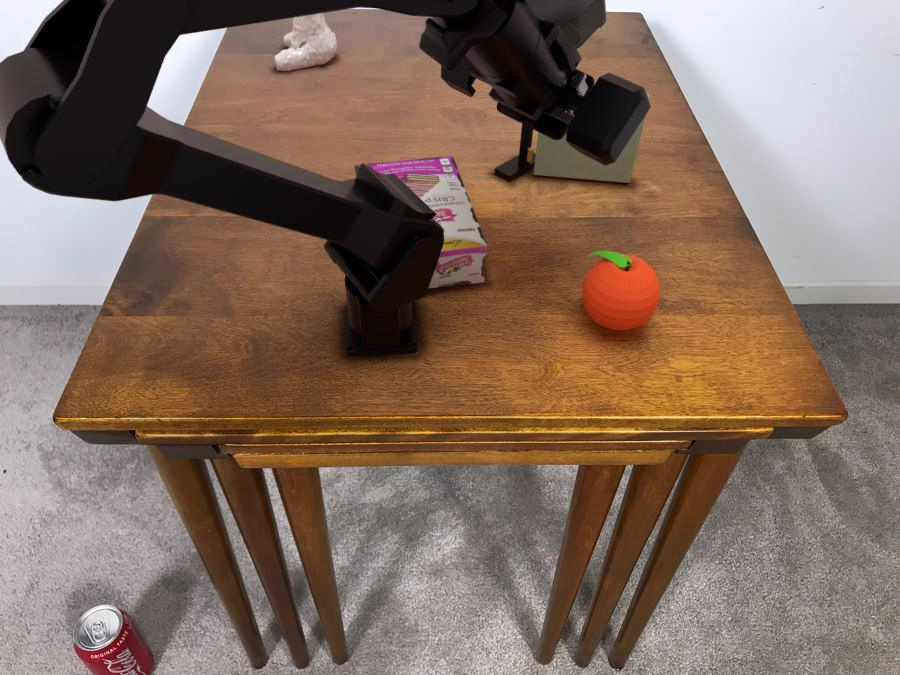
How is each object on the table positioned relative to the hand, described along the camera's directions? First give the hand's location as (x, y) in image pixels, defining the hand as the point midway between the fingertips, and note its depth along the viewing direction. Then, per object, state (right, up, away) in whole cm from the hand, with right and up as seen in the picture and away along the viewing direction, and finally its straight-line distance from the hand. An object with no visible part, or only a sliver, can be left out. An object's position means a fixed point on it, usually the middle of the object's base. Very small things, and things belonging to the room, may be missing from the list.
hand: (569, 128), depth 67 cm
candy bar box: (-17, -2, +12) cm, 20 cm away
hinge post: (-3, 0, +18) cm, 18 cm away
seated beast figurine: (-32, +21, +37) cm, 53 cm away
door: (+4, -1, +16) cm, 17 cm away
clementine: (+4, -18, 0) cm, 18 cm away
